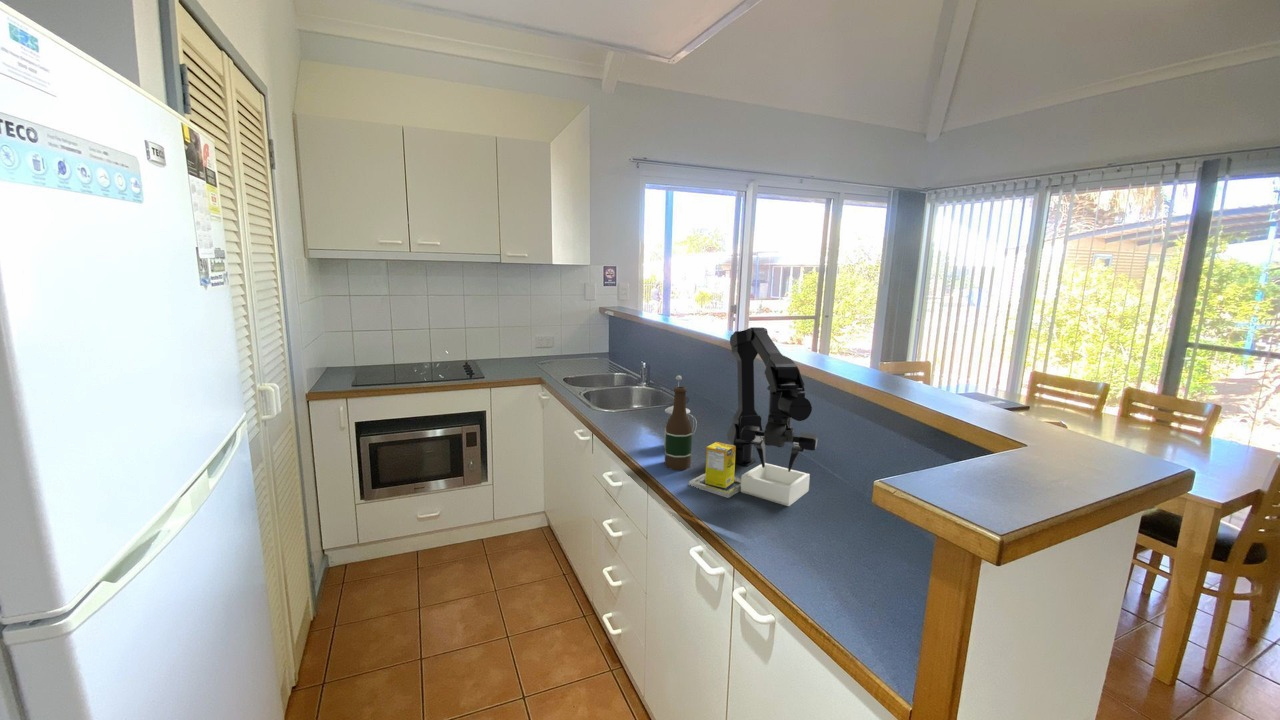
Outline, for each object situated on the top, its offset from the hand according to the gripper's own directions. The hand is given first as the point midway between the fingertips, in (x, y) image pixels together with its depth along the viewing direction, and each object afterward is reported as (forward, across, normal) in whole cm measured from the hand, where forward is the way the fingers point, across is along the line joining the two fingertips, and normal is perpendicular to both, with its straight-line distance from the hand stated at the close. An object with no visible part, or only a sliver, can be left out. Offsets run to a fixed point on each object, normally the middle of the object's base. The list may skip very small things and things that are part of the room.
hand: (776, 469), depth 132 cm
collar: (+6, -14, -2) cm, 16 cm away
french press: (+6, -33, +18) cm, 39 cm away
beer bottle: (+6, -29, +5) cm, 30 cm away
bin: (+6, 0, 0) cm, 6 cm away
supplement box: (+6, -14, -3) cm, 16 cm away
